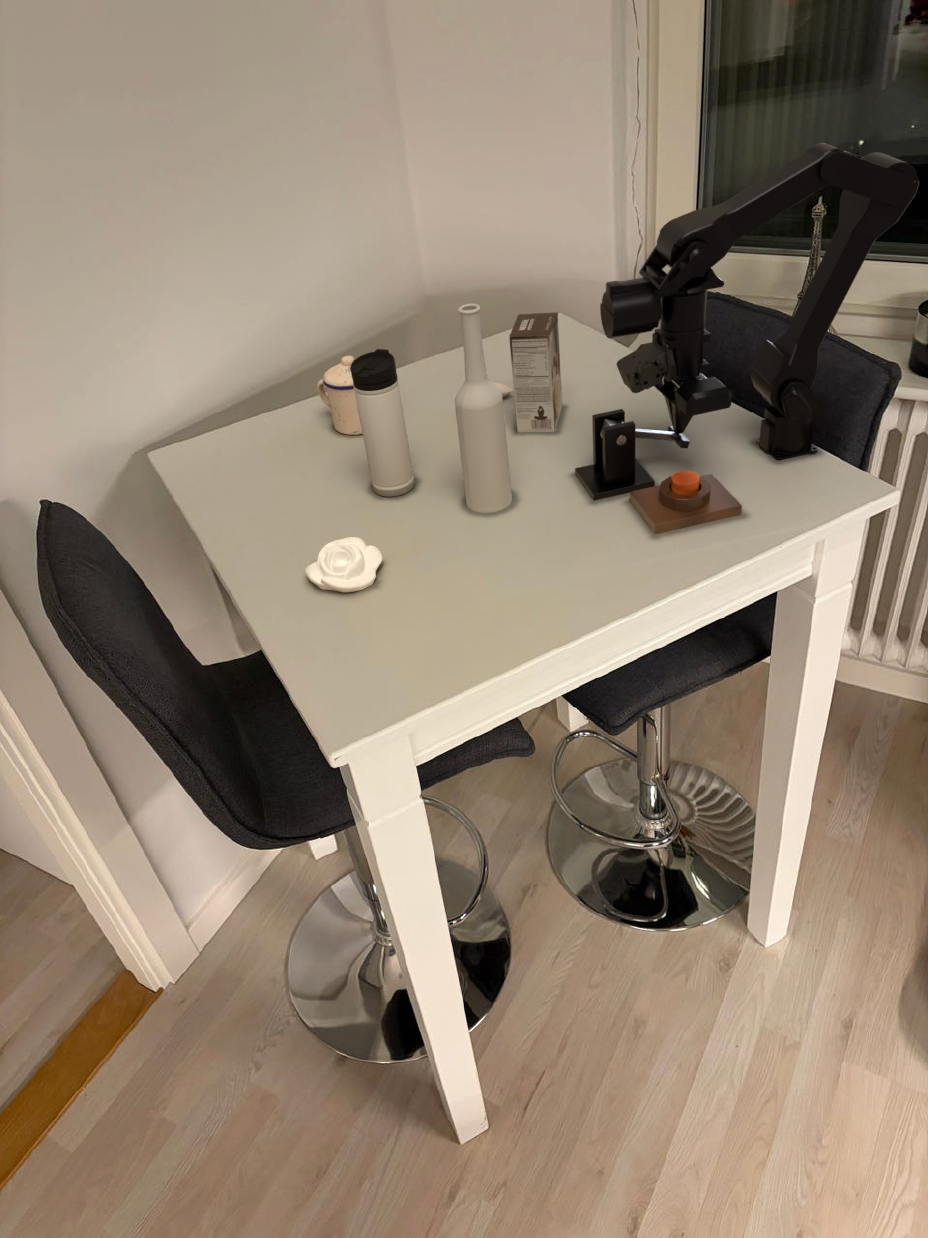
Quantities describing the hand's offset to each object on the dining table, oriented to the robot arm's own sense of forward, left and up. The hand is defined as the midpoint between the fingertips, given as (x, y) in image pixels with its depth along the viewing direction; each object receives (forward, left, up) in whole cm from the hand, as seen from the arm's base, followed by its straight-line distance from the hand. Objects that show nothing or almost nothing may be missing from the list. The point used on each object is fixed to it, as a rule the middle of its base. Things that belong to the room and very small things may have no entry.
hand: (678, 432), depth 130 cm
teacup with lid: (+43, -36, -6) cm, 56 cm away
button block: (+4, +10, -6) cm, 12 cm away
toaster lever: (+6, 0, 0) cm, 6 cm away
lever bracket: (+10, 0, -6) cm, 11 cm away
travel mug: (+40, -12, -6) cm, 42 cm away
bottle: (+28, -2, -6) cm, 28 cm away
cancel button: (+4, +11, -3) cm, 11 cm away
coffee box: (+14, -23, -6) cm, 27 cm away
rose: (+50, +8, -6) cm, 51 cm away
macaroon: (+18, -34, -6) cm, 39 cm away
